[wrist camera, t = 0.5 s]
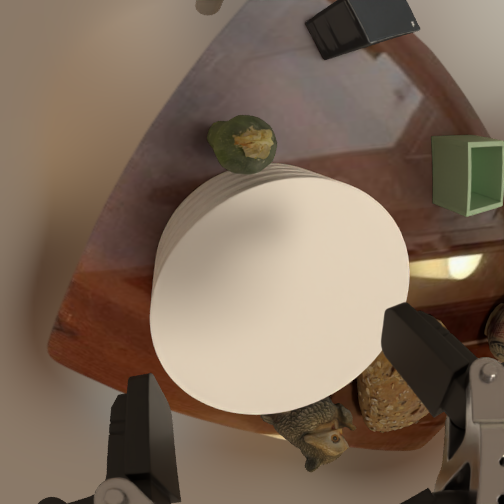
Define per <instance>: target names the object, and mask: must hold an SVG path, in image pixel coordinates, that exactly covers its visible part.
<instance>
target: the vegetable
mask: <svg viewBox="0 0 504 504" xmlns="http://www.w3.org/2000/svg"><path fill="white" fill-rule="evenodd" d="M207 141H208V143H209V144H210V146H211V147H212V148H213V149H214V153H215V155H216V157H217V159H218V161H219V163H220V164H221V166H222V167H224V168H225V169H227V170H229V171H230V172H232V173H235V174H245V175H250V174H255V173H257V172H260V171H262V170H263V169H264V168H266V167H267V166H268V165H269V164H270V163H271V162H272V161H273V159H274V156H275V152H276V148H277V141H276V138H275V134H274V132H273V130H272V128H271V127H270V125H268V124H267V123H266V122H264V121H263V120H261V119H260V118H258V117H255V116H249V115H238V116H236V117H234V118H232V119H230V120H229V121H217V122H216V123H213V124H212V126H211V127H210V129H209V132H208V135H207Z"/></svg>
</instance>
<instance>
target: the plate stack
mask: <svg viewBox="0 0 504 504" xmlns="http://www.w3.org/2000/svg"><path fill="white" fill-rule="evenodd" d="M408 287H409V260H408V254H407V249H406V245H405V242H404V239H403V237H402V234H401V232H400V230H399V228H398V226H397V225H396V223H395V221H394V220H393V218H392V217H391V216H390V214H389V213H388V212H387V211H386V210H385V209H384V207H383V206H382V205H380V204H379V203H378V202H377V201H376V200H375V199H373V198H372V197H371V196H369V195H368V194H366V193H365V192H363V191H361V190H359V189H357V188H355V187H353V186H351V185H348V184H345V183H343V182H340V181H337V180H334V179H332V178H329V177H326V176H323V175H320V174H317V173H314V172H311V171H308V170H305V169H302V168H299V167H296V166H292V165H287V164H280V163H270V164H269V165H268V166H267V167H266V168H264V169H263V170H262V171H260V172H257V173H255V174H250V175H245V174H235V173H232V172H230V171H229V170H228V171H226V172H223V173H221V174H219V175H217V176H215V177H213V178H211V179H210V180H208V181H207V182H205V183H203V184H202V185H201V186H199V187H198V188H197V189H196V190H194V191H193V192H192V193H191V194H190V195H189V196H188V197H187V198H186V199H185V200H184V201H183V202H182V203H181V204H180V205H179V207H178V208H177V209H176V210H175V212H174V213H173V215H172V216H171V218H170V219H169V221H168V223H167V225H166V227H165V229H164V231H163V233H162V236H161V238H160V241H159V245H158V248H157V253H156V259H155V267H154V276H153V286H152V296H151V306H150V329H151V336H152V341H153V345H154V348H155V351H156V354H157V356H158V358H159V360H160V362H161V364H162V366H163V367H164V369H165V371H166V372H167V373H168V375H169V376H170V377H171V378H172V380H173V381H174V382H175V383H176V384H177V385H178V386H179V387H180V388H181V389H183V390H184V391H185V392H186V393H188V394H189V395H191V396H192V397H194V398H195V399H197V400H199V401H201V402H203V403H205V404H207V405H209V406H212V407H214V408H217V409H220V410H224V411H228V412H233V413H240V414H254V415H259V414H273V413H280V412H286V411H290V410H294V409H298V408H301V407H304V406H307V405H310V404H312V403H315V402H317V401H319V400H321V399H324V398H325V397H327V396H329V395H331V394H333V393H335V392H336V391H338V390H340V389H341V388H343V387H344V386H346V385H347V384H348V383H350V382H351V381H352V380H354V379H355V378H356V377H357V376H358V375H360V374H361V373H362V372H363V371H364V370H365V369H366V368H367V367H368V366H369V365H370V364H371V363H372V362H373V361H374V360H375V358H376V357H377V356H378V355H379V354H380V352H381V351H382V348H381V335H382V328H383V320H384V312H385V310H386V309H387V308H390V307H392V306H395V305H398V304H400V303H403V302H406V299H407V294H408Z"/></svg>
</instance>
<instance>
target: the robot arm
mask: <svg viewBox="0 0 504 504" xmlns="http://www.w3.org/2000/svg"><path fill="white" fill-rule="evenodd" d="M381 348H382V351H383V353H384V355H385V357H386V358H387V359H388V360H389V362H390V363H391V364H392V365H393V367H394V368H395V369H396V370H397V372H398V373H399V374H400V375H401V377H402V378H403V379H404V380H405V382H406V383H407V384H408V385H409V387H410V388H411V389H412V390H413V392H414V393H415V394H416V395H417V397H418V398H419V399H420V401H421V402H422V403H423V404H424V406H425V407H426V408H427V409H428V411H429V412H430V413H431V415H432V416H433V417H436V416H437V415H439V414H441V413H442V412H445V413H446V414H447V417H446V421H445V438H444V451H443V461H442V467H441V470H440V473H439V475H438V477H437V480H436V484H435V489H434V492H433V493H431V491H430V490H429V489H428V488H427V489H425V490H424V491H422V492H420V493H419V494H417V495H415V496H413V497H411V498H410V499H408V500H406V501H404V502H402V503H401V504H504V362H503V363H499V362H498V361H497V360H495V359H492V358H487V357H483V358H479V359H478V358H477V357H476V356H475V355H474V354H473V353H472V352H470V351H469V350H468V349H467V348H466V347H465V346H464V345H463V344H462V343H461V342H460V341H459V340H458V339H457V338H456V337H455V336H454V335H452V334H450V333H449V331H448V330H447V329H446V328H445V327H442V324H441V323H439V322H438V321H437V320H436V319H435V318H434V317H433V316H431V315H429V314H426V313H424V312H422V311H418V312H417V311H416V310H415V309H414V308H413V307H412V306H411V305H409V304H408V303H406V302H403V303H400V304H398V305H395V306H392V307H390V308H387V309H386V310H385V312H384V320H383V328H382V335H381ZM110 422H111V424H110V427H109V433H110V435H109V441H108V456H107V475H106V480H105V481H104V482H103V483H101V484H100V485H99V487H98V488H97V490H96V491H95V494H94V495H92V496H90V497H87V498H84V499H81V500H78V501H75V502H71V503H66V502H64V501H63V500H61V499H59V498H55V497H48V498H45V499H43V500H42V501H40V502H39V503H38V504H171V503H176V502H181V497H180V490H179V482H178V475H177V465H176V456H175V446H174V435H173V424H172V415H171V410H170V407H169V404H168V402H167V400H166V398H165V396H164V394H163V392H162V391H161V389H160V387H159V385H158V383H157V381H156V379H155V377H154V375H153V374H152V373H149V374H143V375H138V376H132V377H129V379H128V388H127V394H121V395H118V396H117V398H116V400H115V402H114V404H113V405H112V407H111V416H110Z"/></svg>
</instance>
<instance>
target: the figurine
mask: <svg viewBox="0 0 504 504" xmlns="http://www.w3.org/2000/svg"><path fill="white" fill-rule="evenodd" d="M261 418H262V419H263V421H265V422H267V423H269V424H271V425H273V426H274V428H275V430H276V431H277V432H278V433H279V434H280V435H282V436H283V437H284V438H285V439H286V440H288V441H289V442H290V443H291V444H293V445H294V446H296V447H298V448H299V449H300V450H301V452H302V454H303V455H304V456H305V457H306V459H307V460H306V463H305V468H306V470H307V471H309V472H313V471H315V470H316V469H317V468H318V467H319V466H320V465H324V464H328V463H330V462H332V461H334V460H336V459H337V458H339V457H340V456H341V454H342V453H343V452H344V451H345V450H346V449H348V444H347V442H346V441H345V439H344V437H343V435H342V430H341V429H340V428H342V427H348V428H349V429H350V430H352V431H354V430H355V429H356V427H355V426H354V425H353V424H352V415H351V412H350V411H349V410H348V409H346V408H344V406H343V405H342V404H340V403H337V404H333V403H332V401H331V398H329V397H328V396H327V397H325V398H324V399H321V400H319V401H317V402H315V403H312V404H310V405H307V406H304V407H301V408H298V409H294V410H290V411H286V412H280V413H273V414H261Z"/></svg>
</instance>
